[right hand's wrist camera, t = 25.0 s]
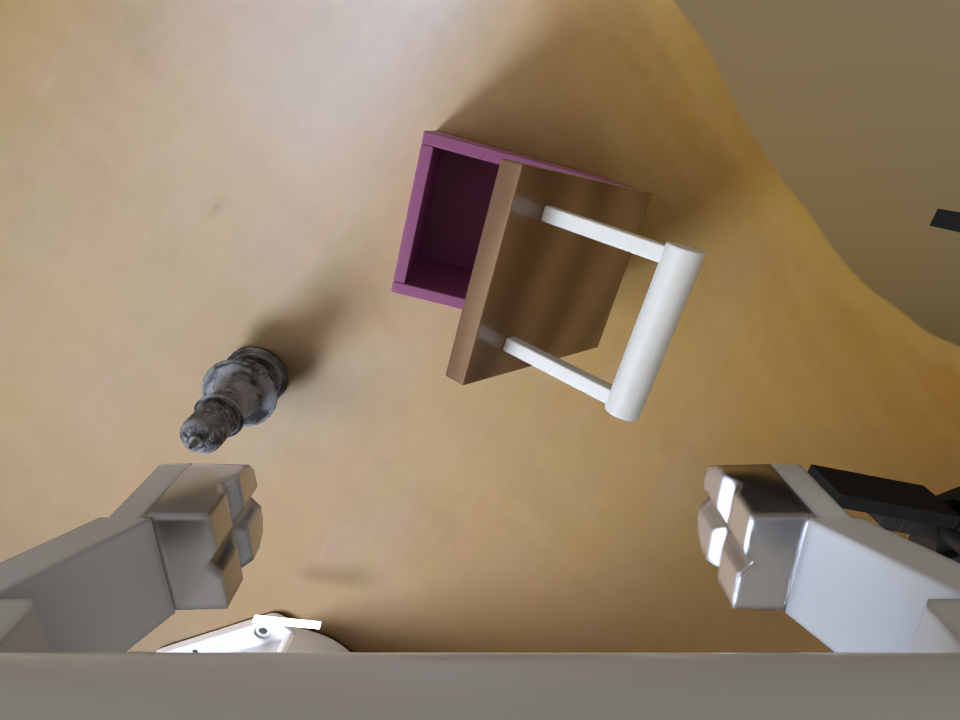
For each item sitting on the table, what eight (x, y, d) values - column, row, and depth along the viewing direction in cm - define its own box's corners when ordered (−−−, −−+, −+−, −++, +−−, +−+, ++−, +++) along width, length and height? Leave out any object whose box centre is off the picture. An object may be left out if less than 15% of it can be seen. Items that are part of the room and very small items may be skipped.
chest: (408, 260, 45) (390, 291, 36) (436, 130, 42) (424, 130, 33) (568, 301, 47) (589, 341, 38) (608, 178, 43) (641, 190, 34)
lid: (444, 375, 27) (597, 465, 22) (500, 157, 23) (694, 215, 19) (583, 340, 37) (703, 396, 33) (635, 188, 34) (777, 230, 30)
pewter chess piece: (232, 332, 47) (155, 394, 36) (299, 361, 48) (245, 430, 37) (212, 390, 49) (134, 466, 38) (277, 417, 50) (220, 498, 39)
